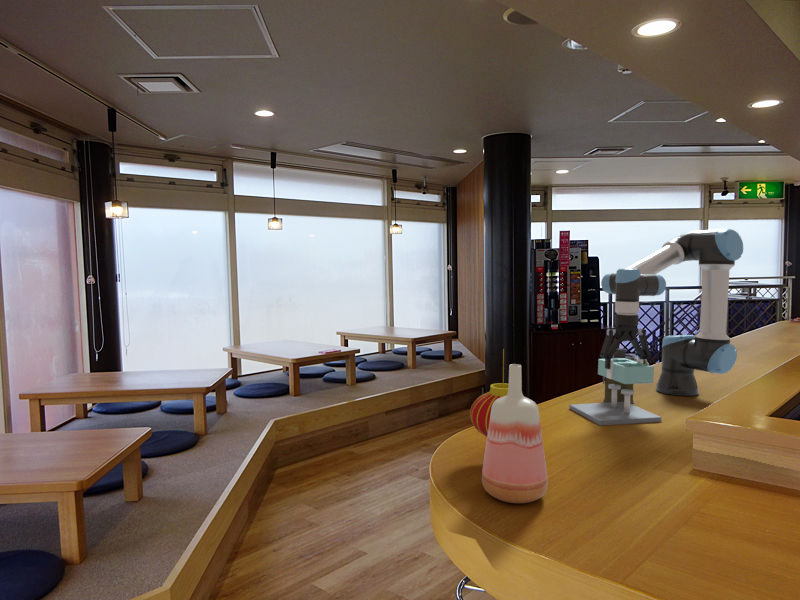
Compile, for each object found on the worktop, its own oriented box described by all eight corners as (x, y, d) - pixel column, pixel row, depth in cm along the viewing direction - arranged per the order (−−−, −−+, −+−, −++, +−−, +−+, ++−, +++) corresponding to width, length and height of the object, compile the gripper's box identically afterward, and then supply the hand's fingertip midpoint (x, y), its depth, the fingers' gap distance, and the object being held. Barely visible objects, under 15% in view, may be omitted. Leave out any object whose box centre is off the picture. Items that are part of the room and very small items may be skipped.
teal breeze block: (624, 373, 189) (624, 358, 189) (653, 383, 173) (653, 366, 173) (597, 374, 187) (598, 358, 187) (624, 384, 172) (625, 367, 171)
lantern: (463, 468, 134) (464, 352, 132) (477, 446, 150) (478, 342, 148) (531, 477, 128) (533, 355, 126) (538, 453, 144) (540, 345, 142)
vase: (535, 515, 108) (537, 374, 106) (471, 499, 116) (472, 367, 114) (555, 490, 121) (557, 362, 119) (495, 477, 128) (496, 357, 126)
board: (625, 405, 192) (625, 380, 192) (661, 421, 173) (662, 393, 172) (569, 408, 188) (569, 383, 188) (600, 425, 169) (600, 397, 168)
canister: (628, 398, 203) (629, 346, 202) (637, 405, 193) (639, 351, 191) (599, 397, 204) (600, 346, 203) (607, 404, 194) (608, 351, 192)
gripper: (649, 312, 185) (647, 374, 186) (589, 313, 181) (588, 376, 182) (664, 314, 177) (661, 379, 179) (601, 315, 173) (599, 381, 175)
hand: (624, 377), depth 180 cm, fingers closed on teal breeze block, 10 cm apart
